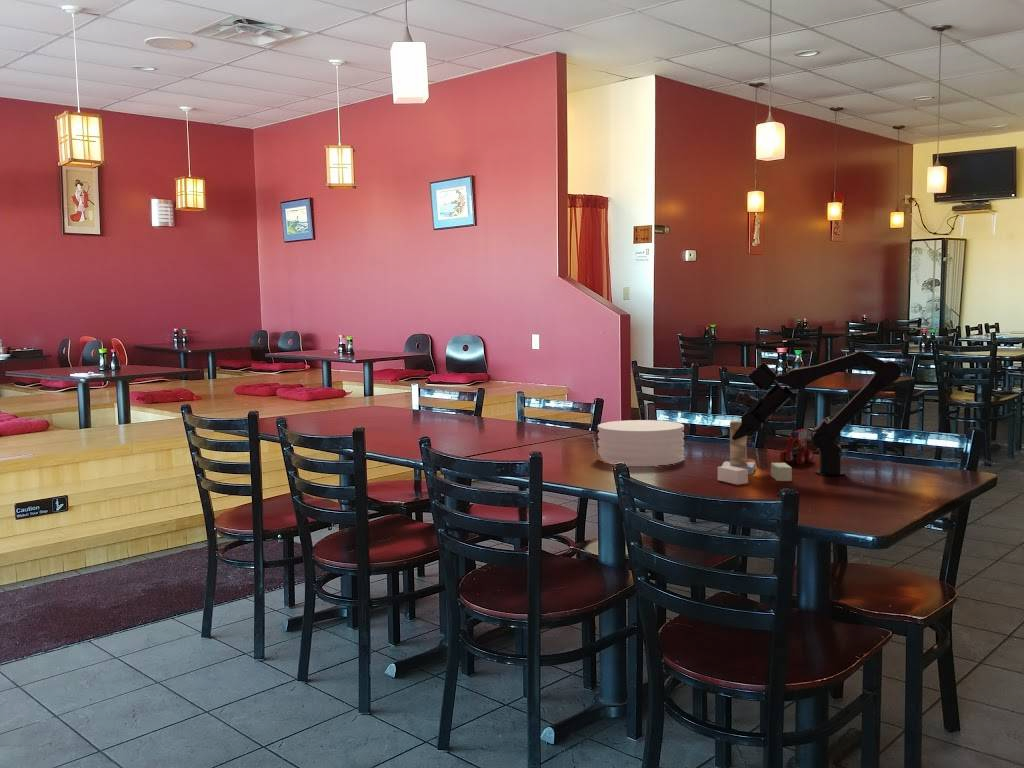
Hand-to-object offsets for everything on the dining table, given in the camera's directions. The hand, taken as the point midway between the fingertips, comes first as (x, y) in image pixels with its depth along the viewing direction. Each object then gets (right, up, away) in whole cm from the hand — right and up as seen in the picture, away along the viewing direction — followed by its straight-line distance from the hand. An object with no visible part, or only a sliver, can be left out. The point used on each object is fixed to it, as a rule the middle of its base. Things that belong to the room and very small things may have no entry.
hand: (733, 437), depth 266 cm
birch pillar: (+1, -8, 0) cm, 8 cm away
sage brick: (+10, -11, -12) cm, 20 cm away
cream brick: (-4, -12, -16) cm, 20 cm away
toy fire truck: (+23, -9, +13) cm, 28 cm away
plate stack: (-24, -9, +25) cm, 36 cm away
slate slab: (+1, -10, 0) cm, 11 cm away
